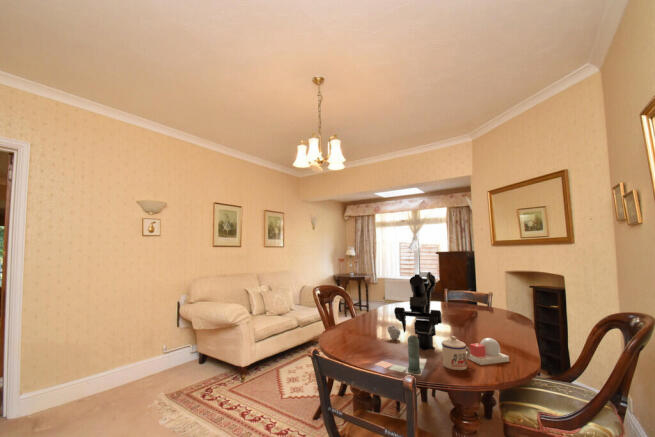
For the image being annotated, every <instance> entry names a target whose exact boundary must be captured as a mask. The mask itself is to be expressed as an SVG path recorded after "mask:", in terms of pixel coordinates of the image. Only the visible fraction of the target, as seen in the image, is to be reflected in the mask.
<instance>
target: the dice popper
mask: <svg viewBox="0 0 655 437" xmlns="http://www.w3.org/2000/svg"><path fill="white" fill-rule="evenodd" d="M469 349H470V357H469V358H468V359H467V360H470V361H472V362H474V363H476V364H478V365H480V366H483V365H492V364H499V363H501V364H502V363H507V362H510V357H509V356H510V355H506V354H504V353H501V345H500V343H499V342H498V341H497V340H495V339H494V338H492V337H485V338H483V339H482V340H481V341H480V343H478V342H477V343H476V342H475V343H470V344H469ZM466 356H467V350H466Z"/></svg>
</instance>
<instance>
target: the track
mask: <svg viewBox="0 0 655 437" xmlns="http://www.w3.org/2000/svg"><path fill="white" fill-rule="evenodd" d="M427 360H428V359H427V358H421V357H419V362H420V369H421V373H420V374H412V373H409V372H408V367H407V366H404V365H403V366H402V365H397V364H394V363H390V362H387V361H384V360H381V361H378V362H377V363H376V362H375V363H374V365H375V366H377V367H381V368H384V369H387V368H388V370H391V371H394V372H400V373H403V372H404V371H405V370H406V372H405V374H410V375H415V376H421V377H422V373H423V371H424V369H425V366H426V363H427Z"/></svg>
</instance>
